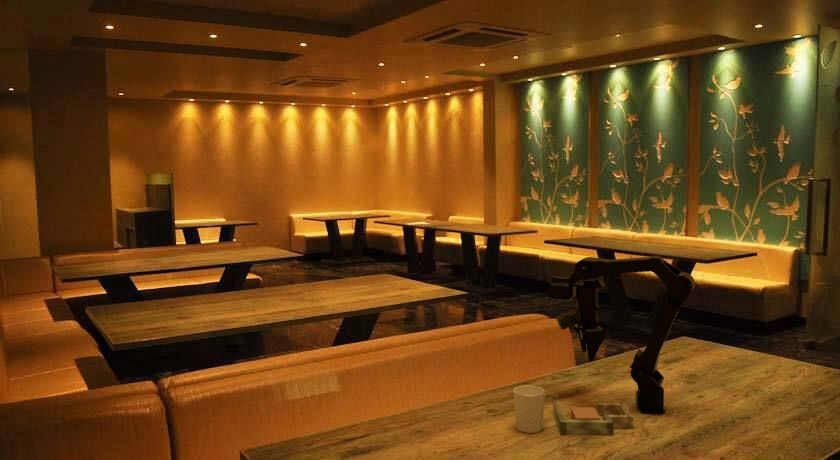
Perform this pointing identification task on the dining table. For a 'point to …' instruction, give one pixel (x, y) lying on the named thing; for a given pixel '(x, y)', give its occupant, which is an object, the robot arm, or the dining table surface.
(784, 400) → the dining table surface
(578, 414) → the block
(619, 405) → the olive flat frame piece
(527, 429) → the white cup
